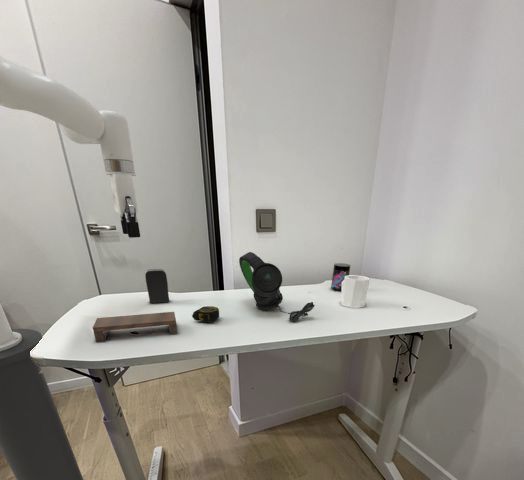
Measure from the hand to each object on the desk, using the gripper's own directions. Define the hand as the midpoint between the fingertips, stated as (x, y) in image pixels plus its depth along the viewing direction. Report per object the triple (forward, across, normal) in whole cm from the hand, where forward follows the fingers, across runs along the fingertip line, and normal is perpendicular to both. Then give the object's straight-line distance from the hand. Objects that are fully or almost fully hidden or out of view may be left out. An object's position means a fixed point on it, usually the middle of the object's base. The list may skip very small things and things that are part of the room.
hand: (131, 235), depth 88 cm
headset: (+23, +22, +37) cm, 49 cm away
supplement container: (+23, +14, +77) cm, 82 cm away
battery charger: (+23, -3, +6) cm, 24 cm away
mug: (+23, +29, +68) cm, 77 cm away
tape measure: (+23, +21, +14) cm, 34 cm away
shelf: (+23, +21, -6) cm, 31 cm away
